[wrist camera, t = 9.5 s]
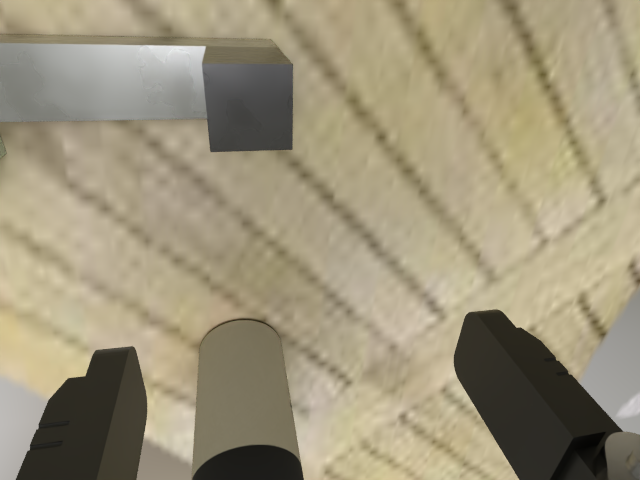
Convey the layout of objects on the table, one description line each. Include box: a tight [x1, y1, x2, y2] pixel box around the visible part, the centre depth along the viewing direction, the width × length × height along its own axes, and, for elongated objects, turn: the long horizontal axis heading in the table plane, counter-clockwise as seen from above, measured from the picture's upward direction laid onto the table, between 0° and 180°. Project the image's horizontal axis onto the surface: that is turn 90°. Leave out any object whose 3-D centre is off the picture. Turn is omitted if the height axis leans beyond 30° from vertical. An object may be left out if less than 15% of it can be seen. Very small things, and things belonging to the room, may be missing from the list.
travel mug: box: [192, 320, 304, 480], centre depth 34 cm, size 8×8×18 cm
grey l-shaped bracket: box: [0, 34, 293, 152], centre depth 22 cm, size 4×22×10 cm, turn 88°
